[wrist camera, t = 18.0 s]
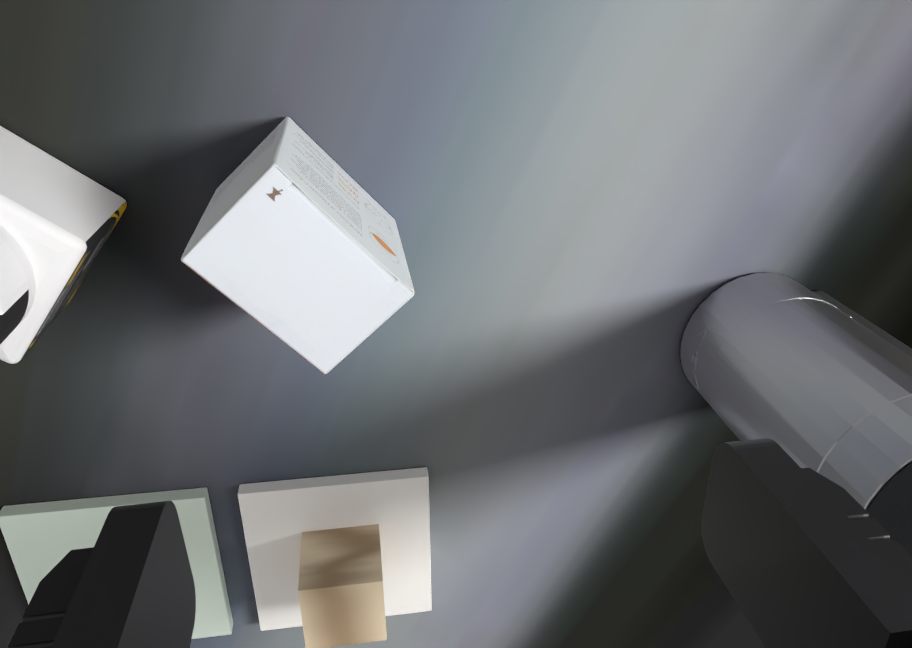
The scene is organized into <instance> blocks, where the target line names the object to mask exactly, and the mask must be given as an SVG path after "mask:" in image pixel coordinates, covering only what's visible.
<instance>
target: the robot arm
mask: <svg viewBox="0 0 912 648" xmlns="http://www.w3.org/2000/svg"><path fill="white" fill-rule="evenodd" d="M680 358H681V363H682V368H683V371H684V373H685V375H686V377H687V379H688V380H689V381H690V383H691V384H692V385H693V386H694V387H695V388H696V390H697V391H698V392H699V393H700V394H701V395H702V397H703V398H704V399H705V400H706V401H707V402H708V404H709V405H710V406H711V407H712V408H713V409H714V410H715V412H716V413H717V414H718V415H719V417H720V418H721V419H722V420H723V421H724V422H725V424H726V425H727V426H728V427H729V428H730V429H731V430H732V432H733V433H734V434H735V435H736V436H737V437H738V439H739V440H740V441H735V442H726V443H721V444H719V445H718V446H717V447H716V448H715V450H714V453H713V457H712V463H711V469H710V474H709V480H708V486H707V491H706V497H705V503H704V508H703V514H702V520H701V533H702V539H703V544H704V547H705V551H706V553H707V556H708V558H709V560H710V562H711V564H712V565H713V567H714V568H715V570H716V571H717V573H718V575H719V576H720V578H721V579H722V581H723V582H724V584H725V585H726V587H727V589H728V590H729V592H730V593H731V595H732V596H733V598H734V599H735V601H736V603H737V604H738V606H739V607H740V609H741V610H742V612H743V613H744V615H745V616H746V618H747V620H748V621H749V623H750V624H751V626H752V627H753V629H754V630H755V632H756V634H757V635H758V637H759V638H760V640H761V641H762V643H763V644H764V646H765V648H912V349H911V348H910V347H908V346H907V345H905V344H903V343H902V342H900V341H899V340H897V339H896V338H894V337H893V336H891V335H889V334H888V333H886V332H885V331H883V330H882V329H880V328H879V327H877V326H875V325H874V324H872V323H871V322H869V321H868V320H866V319H865V318H863V317H861V316H860V315H858V314H857V313H855V312H854V311H852V310H851V309H849V308H847V307H846V306H844V305H843V304H841V303H840V302H838V301H837V300H835V299H833V298H832V297H830V296H829V295H827V294H826V293H824V292H823V291H810V290H809V289H807V288H806V287H804V286H803V285H801V284H800V283H798V282H797V281H795V280H793V279H791V278H789V277H786V276H784V275H780V274H774V273H755V274H751V275H747V276H743V277H740V278H737V279H735V280H733V281H731V282H729V283H726V284H725V285H723V286H722V287H720V288H719V289H717V290H716V291H714V292H713V293H712V294H711V295H710V296H709V297H708V298H706V299H705V300H704V301H703V302H702V303H701V304H700V306H699V307H698V308H697V310H696V311H695V312H694V314H693V315H692V316H691V318H690V320H689V322H688V324H687V326H686V328H685V331H684V334H683V338H682V342H681V354H680ZM195 613H196V594H195V585H194V579H193V575H192V571H191V567H190V563H189V558H188V554H187V550H186V546H185V542H184V538H183V533H182V529H181V525H180V521H179V517H178V513H177V509H176V507H175V505H174V503H173V502H172V501H162V502H153V503H143V504H134V505H125V506H116V507H113V508H112V509H111V510H110V512H109V514H108V516H107V518H106V520H105V523H104V525H103V527H102V530H101V532H100V534H99V537H98V539H97V541H96V544H95V546H94V547H92V548H83V549H75V550H71V551H70V552H69V553H68V554H67V555H66V556H65V557H64V558H63V559H62V560H61V561H60V562H59V563H58V564H57V565H56V566H55V567H54V568H53V569H52V570H51V571H50V572H49V573H48V574H47V575H46V576H45V577H44V578H43V579H42V580H41V581H40V583H39V585H38V587H37V589H36V591H35V593H34V595H33V597H32V599H31V601H30V603H29V605H28V607H27V609H26V611H25V613H24V615H23V623H19V625H18V627H17V629H16V631H15V633H14V635H13V637H12V639H11V641H10V643H9V645H8V647H9V648H189V647H190V643H191V638H192V634H193V629H194V623H195Z"/></svg>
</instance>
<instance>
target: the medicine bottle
mask: <svg viewBox="0 0 912 648" xmlns="http://www.w3.org/2000/svg"><path fill="white" fill-rule="evenodd" d="M126 206H127V203H126V200H125V199H123V198H122V197H120V196H119V195H117V194H115V193H114V192H112V191H110V190H108V189H107V188H105V187H103V186H102V185H100V184H98V183H97V182H95V181H93V180H92V179H90V178H88V177H86V176H85V175H83V174H81V173H80V172H78V171H76V170H75V169H73V168H71V167H69V166H68V165H66V164H64V163H63V162H61V161H59V160H58V159H56V158H54V157H53V156H51V155H49V154H47V153H46V152H44V151H42V150H41V149H39V148H37V147H36V146H34V145H32V144H30V143H29V142H27V141H25V140H24V139H22V138H20V137H19V136H17V135H15V134H13V133H12V132H10V131H8V130H7V129H5V128H3V127H2V126H0V359H1V360H3V361H5V362H7V363H10V364H14V363H17V362H19V361H20V360H21V359H22V358H23V357H24V355H25V354H26V353H27V352H28V351H29V349H30V348H31V347H32V346H33V345H34V343H35V342H36V341H37V340H38V339H39V338H40V336H41V335H42V334H43V333H44V332H45V330H46V329H47V328H48V327H49V326H50V325H51V323H52V322H53V321H54V320H55V319H56V317H57V316H58V315H59V314H60V313H61V311H62V310H63V309H64V308H65V307H66V306H67V304H68V303H69V302H70V300H71V298H72V297H73V295H74V293H75V292H76V290H77V288H78V287H79V285H80V283H81V282H82V280H83V278H84V277H85V275H86V273H87V272H88V270H89V269H90V267H91V265H92V264H93V262H94V260H95V259H96V257H97V255H98V254H99V252H100V250H101V249H102V247H103V245H104V244H105V242H106V240H107V239H108V237H109V235H110V234H111V232H112V230H113V229H114V227H115V225H116V224H117V222H118V220H119V219H120V217H121V216H122V214H123V212H124V211H125V209H126Z"/></svg>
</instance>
